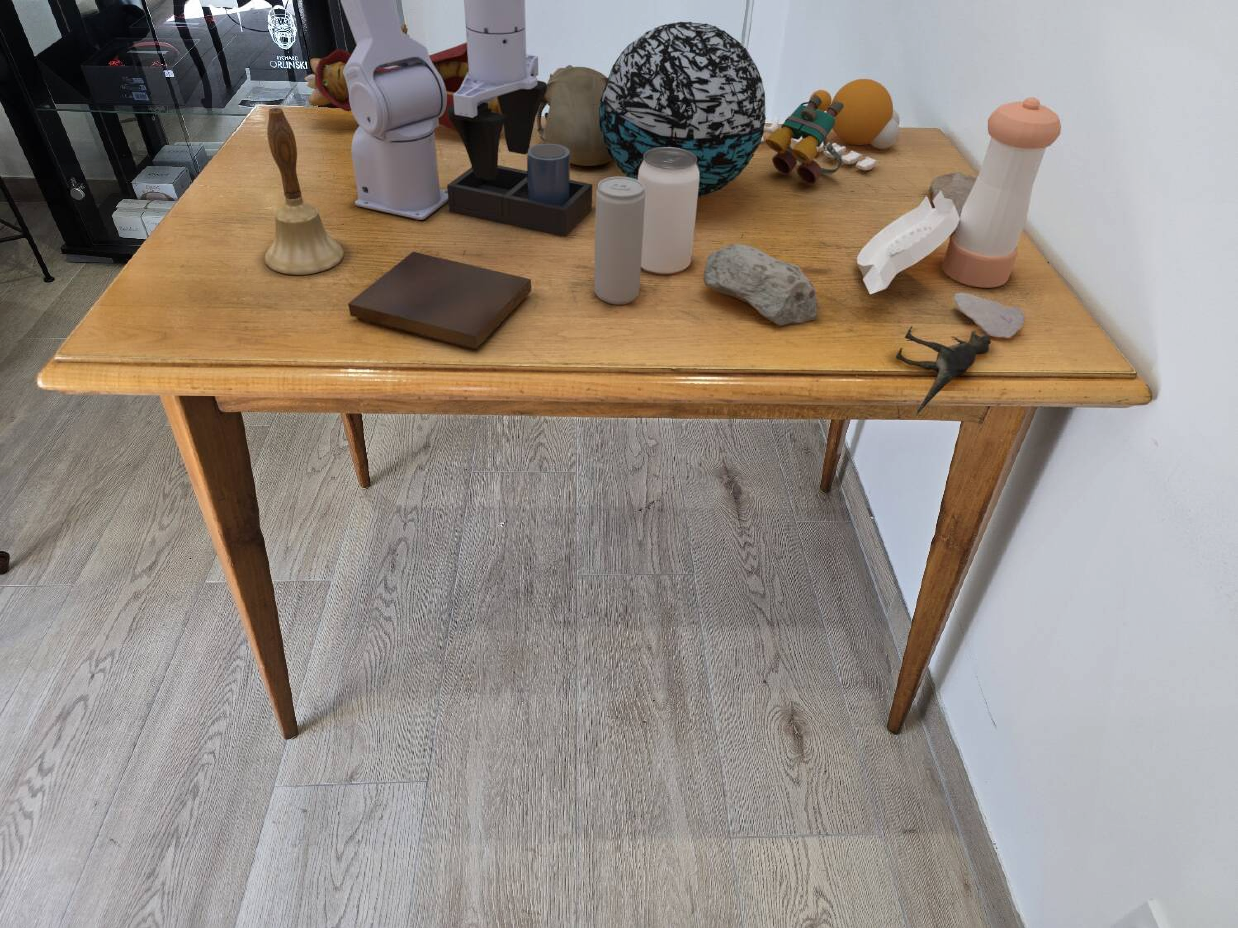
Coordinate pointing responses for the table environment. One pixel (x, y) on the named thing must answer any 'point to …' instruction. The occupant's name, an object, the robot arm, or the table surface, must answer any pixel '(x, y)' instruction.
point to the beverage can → (618, 239)
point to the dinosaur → (948, 360)
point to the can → (668, 209)
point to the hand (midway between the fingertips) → (502, 164)
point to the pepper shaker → (1001, 194)
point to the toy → (863, 114)
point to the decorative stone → (762, 283)
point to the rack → (517, 201)
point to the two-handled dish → (906, 241)
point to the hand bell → (296, 213)
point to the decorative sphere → (685, 101)
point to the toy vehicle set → (846, 156)
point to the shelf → (441, 299)
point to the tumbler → (548, 173)
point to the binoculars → (805, 140)
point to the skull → (575, 114)
